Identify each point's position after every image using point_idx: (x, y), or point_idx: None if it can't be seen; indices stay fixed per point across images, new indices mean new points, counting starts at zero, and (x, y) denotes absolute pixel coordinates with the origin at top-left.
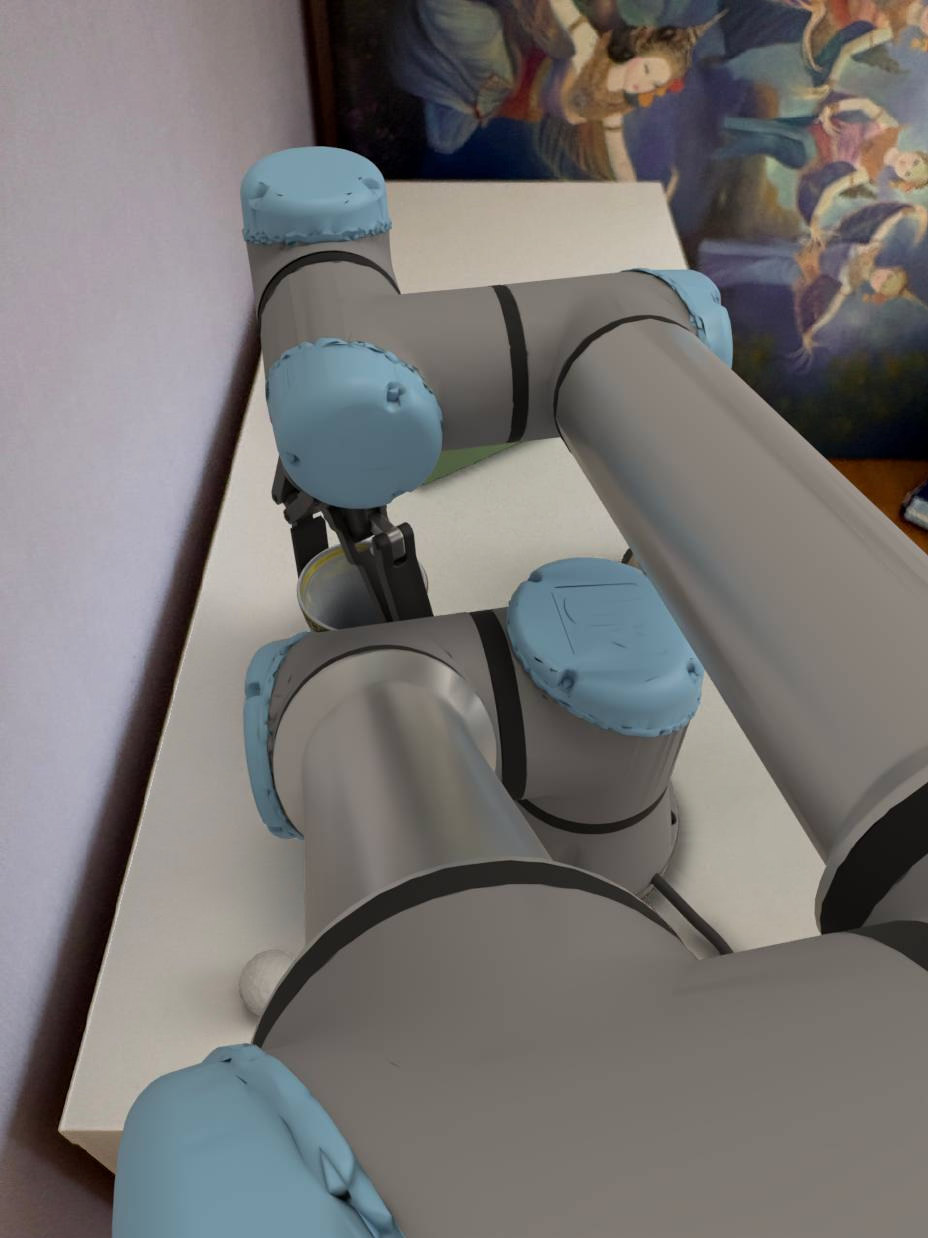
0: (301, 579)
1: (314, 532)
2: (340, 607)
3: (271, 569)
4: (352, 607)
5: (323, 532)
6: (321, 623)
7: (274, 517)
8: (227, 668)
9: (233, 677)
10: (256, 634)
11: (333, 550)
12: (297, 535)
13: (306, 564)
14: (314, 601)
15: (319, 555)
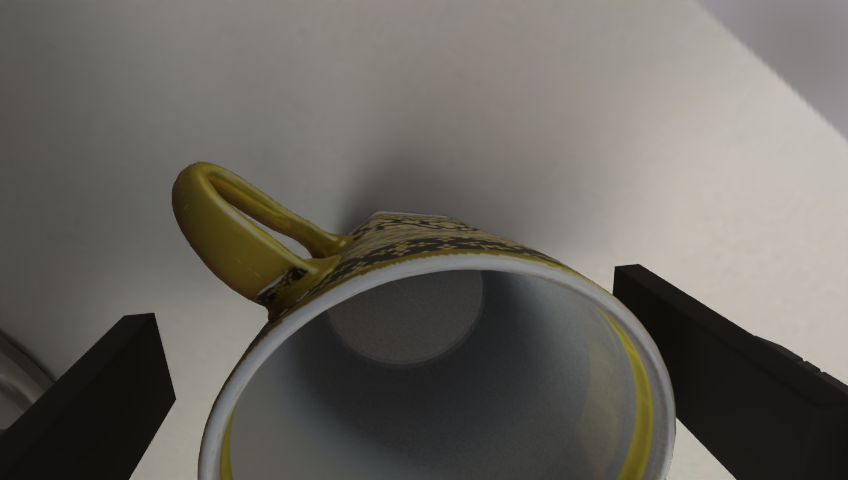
0: (607, 308)
1: (765, 457)
2: (527, 317)
3: (738, 217)
4: (517, 337)
5: (742, 472)
6: (351, 291)
7: (843, 276)
8: (566, 11)
9: (535, 13)
10: (611, 115)
11: (655, 446)
12: (802, 409)
13: (672, 330)
14: (549, 282)
15: (665, 403)
